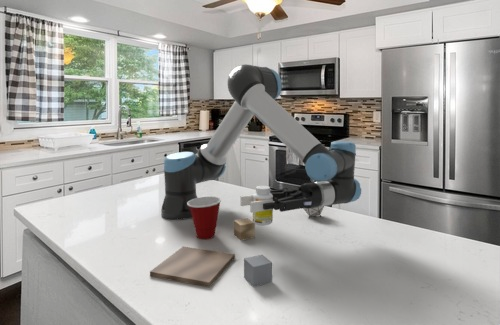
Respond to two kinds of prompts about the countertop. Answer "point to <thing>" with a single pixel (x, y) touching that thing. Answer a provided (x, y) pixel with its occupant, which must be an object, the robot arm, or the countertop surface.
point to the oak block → (244, 229)
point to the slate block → (257, 270)
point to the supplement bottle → (262, 216)
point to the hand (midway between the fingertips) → (246, 204)
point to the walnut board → (193, 266)
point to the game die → (313, 211)
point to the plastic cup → (205, 215)
